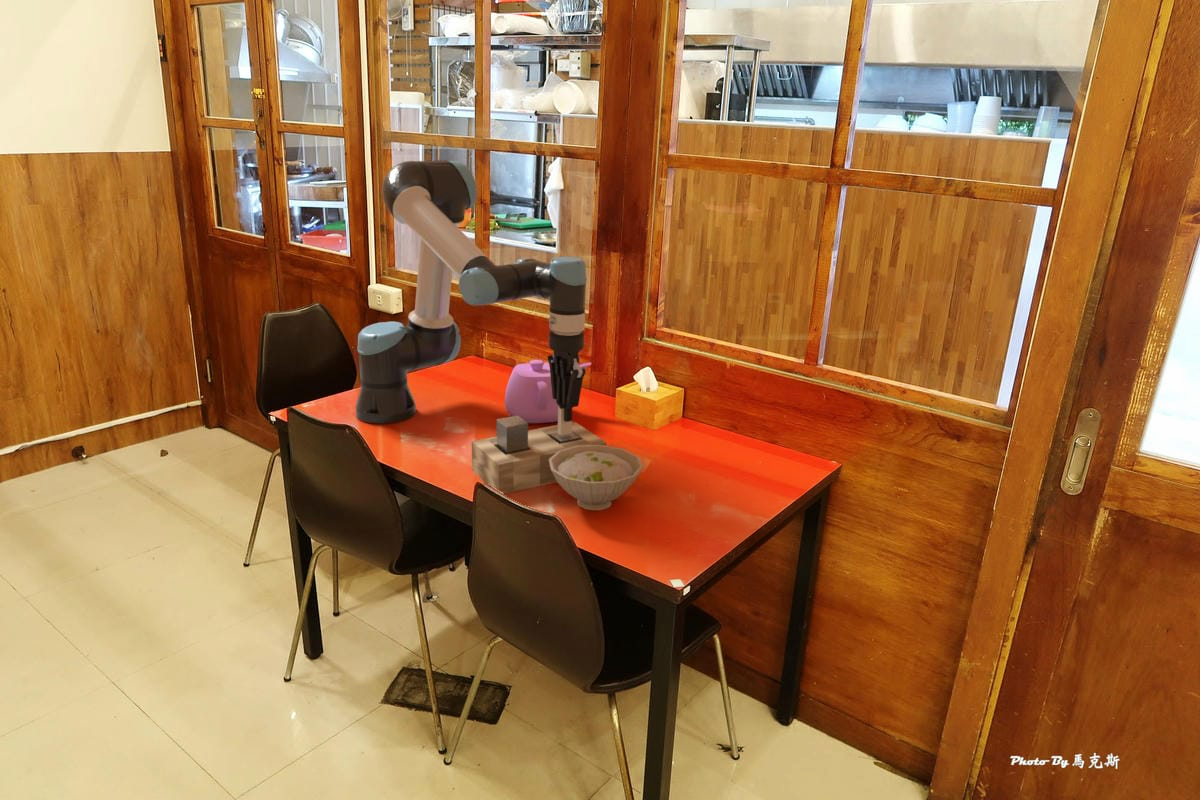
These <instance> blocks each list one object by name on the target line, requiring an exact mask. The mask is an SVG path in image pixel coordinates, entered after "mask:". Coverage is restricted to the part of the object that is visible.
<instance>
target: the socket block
mask: <svg viewBox="0 0 1200 800" xmlns="http://www.w3.org/2000/svg"><path fill="white" fill-rule="evenodd" d="M557 432H558V424H556V425H550V426H545V427H539V428H535V429H530V430H529V429H528V450H527V451H522V452H517V453H512V454H507V455H506V454H504V453H503V452H502V451H501V450H500V449H498V448H497V436H492V437H488V438H482V439H476V440H471V470H472V472H473V473H475V474H476V476H478V477H479V479H481V480H482V481H483V482H484V483H485V484H486V485H487V484H489V485H490V486H492V487H494V488H496V489H497V490H499V491H501V492H503V493H504V494H503V495H507V494H511V493H515V492H520V491H524V490H529V489H532V488H536V487H542V486H546V485H547V486H548V485H550V484H555V483H558V482H557V480H556V478H555V477H554V475H553V473H552V471H551V468H550V463H549V459H550V458H551V457H552V456H553V455H554V454H555V453H557V452H558V451H559V450H563V449H567V448H570V447H574V446H578V445H605V446H607V442H606V441H605V440H603V439H602V438H601V437H599V436H597V435H596V434H594V433H593V432H591V431H589V430H588V429H586V428H585V427H583V426H582V425H580V424H579V423H577V422H575V421H572V432H573V433H574V434H576V435H577V436H579V437H580V440H576V441H571V442H567V443H562V444H559V443H558V442H556V441H555V440H553V439H552V438H551V437H550V434H552V433H557Z"/></svg>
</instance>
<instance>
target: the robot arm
mask: <svg viewBox="0 0 1200 800" xmlns="http://www.w3.org/2000/svg"><path fill="white" fill-rule="evenodd" d="M476 183H477V182H476V179H475V177H474V176H473V173H472V171H471V170H470V168H469V167H468V166H467V165H466V164H464V163H463V162H461V161H457V160H448V159H443V160H442V159H441V160H439V159H438V160H417V161H416V160H415V161H414V160H407V161H403V162H399V163H398V164H396V165H394V166H393V167H391V168H390V169H389V171H388V172H387V174H386V175H385V177H384V179H383V182H382V188H381V193H382V200H383V203H384V205H385V208H386V209H387V211H388V212H389V214H390V215H392V217H393V218H394V219H395V220H396V221H397V222H399V223H400V224H403V225H407V226H408V227H409V228H410V229H411V230H412V231H413V232H414V233H415V235H417V237H419V238H420V240H419V251H418V252H419V253H418V266H417V280H416V290H415V291H416V292H415V301H414V302H415V305H414V310H413V309H412V311H410V312H409V313H408V316H407V325H404V324H403V323H401V322H399V321H386V322H385V321H383V322H377V323H376V322H375V323H373V324H370V325H368V326H365V327H364V328H362V329H361V330H360V331H359V333H358V334H357V335H358V336H357V352H358V365H359V377H360V390H359V394H358V396H357V400H356V404H355V416H356V418H357V419H358V420H360V421H362V422H364V423H370V424H393V423H399V422H402V421H406V420H408V419H411V418H413V417H414V416H415V415H416V414H417V410H416V409H417V407H416V402H415V400H414V397H413V395H412V391H411V389H410V387H409V383H408V372H409V371H416V370H419V369H425V368H428V367H433V366H435V367H436V366H441V365H442V364H447V363H449V362H452V361H453V360H454V359H455V358H456V357H457V355H458V354H459V352H460V349H461V344H462V343H461V342H462V338H461V334H459V333H460V329H459V327H458V325H457V323H456V322H455V321H454V318H453V316H452V315H451V314H450V313H449V310H450V299H451V291H452V290H451V289H452V288H451V287H452V279H453V274H454V275H455V276H456V277H457V279H459V280H458V288H459V290H458V291H459V293H460V294H461V297H462V300H463V301H464V302H465V303H466V304H468V305H471V306H489V305H492V304H498V303H502V302H508V301H514V300H521V299H522V300H523V299H527V298H532V297H536V298H537V297H538V298H541V299H545V300H549V317H548V322H549V329H550V331H549V332H548V333H549V334H548V347H549V349H550V350H551V351H553V353H552V354H550V355H547V363H549V366H550V376H551V386H552V396H553V399H556V402H557V404H558V421H557V425H558V434H560V435H565V434H570V433H572V422H573V408H575V407H579V404H580V397H581V392H582V385H583V379H584V377H585V375H586V372H587V371H586V368H585V369H584V368H583V369H581V368H580V366H579V365H580V358H579V357H580V356H579V353H580V352H581V351H582V350H583V349H584V347H585V333H584V330H585V329H586V328H585V327H586V325H585V324H586V323H585V321H586V319H585V318H586V290H587V289H586V288H587V287H586V286H587V279H588V278H587V272H586V271H587V266H586V262H585V261H584V259H582V258H579V257H575V256H574V257H572V256H557V257H553V258H552V259H550V263H548V262H546V261H540V260H537V259H535V258H519V259H517V260H516V261H515V262H512V263H510V264H509V263H508V264H501V265H500V264H499V265H497V264H495V263H494V262H493V261H492V260H491V259H490V258H489V257H488V256H487V255H486V254H485V253H484V252H483V251H482V250H481V249H480V248H479V247H478V246H477V245H476V244H475V243H474V242H473V241H472V239H470V238H469V237H468V236H467V235H466V234H465V233H464V232H463V231H462V230H461V229H460V228H459V225H461V224H462V223H464V221H465V214H466V211H469V210H470V209H472V208H473V207H474V206H475V204H476V202H477V198H478V189H477V184H476Z"/></svg>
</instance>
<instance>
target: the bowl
mask: <svg viewBox="0 0 1200 800" xmlns="http://www.w3.org/2000/svg"><path fill="white" fill-rule="evenodd" d="M549 463H550V468H551V471H552V473H553V475H554V477H555V478H556V480H557V482H556V483H558V484H559V486H560V487H561V488H562V489H563V490H564V491H565V492H566V493H567V494H568V495H570V496H572V497H573V498H574V499H576V500H577V506H579V507H580V508H581V509H584V510H589V511H604V510H606V509H608V508H610V507H611V505H612V501H614V500H616V499H619V497H620V496H621V495H622V494H624V493H626V491H627V490H628V489H629V488H630V487H631V485H633V483H634V482H635V481H636V479H637V478H638V476H639V475H640V473H641V471H642V470H643V468H644V465H643V463H642V460H641V459H640V456H638V455H636V454H634V453H632V452H630V451H628V450H626V449H625V448H621V447H616V446H615V447H613V446H609V445H606V446H605V445H578V446H574V447H570V448H567V449H563V450H559V451H558V452H557V453H555V454H554V455H553V456H552V457H551V458H550V459H549Z"/></svg>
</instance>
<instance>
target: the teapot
mask: <svg viewBox="0 0 1200 800" xmlns="http://www.w3.org/2000/svg"><path fill="white" fill-rule="evenodd" d="M590 365H592V362H586V363H581V364H579V366H580V368H581V369H583V368H584V369H585V370H586V369H587V367H589V366H590ZM504 393H505V394H504V406H505V409H506V411H507V413H508V414H509V417H512V416H519V417H520V418H522V419H523V420H524V421H526V422H527V423H528V424H545V423H546V424H547V423H556V422H557V423H558V404H557V402H556V399H553V396H552V386H551V376H550V366H549V362H545V361H544V360H541V359H532V360H530V361H529V363H528V362H526V363H518V364H516V365H515V366H514V368H513V369H512V372H511V374H510V377H509V380H508V381H507V385H506V389H505V392H504Z"/></svg>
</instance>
